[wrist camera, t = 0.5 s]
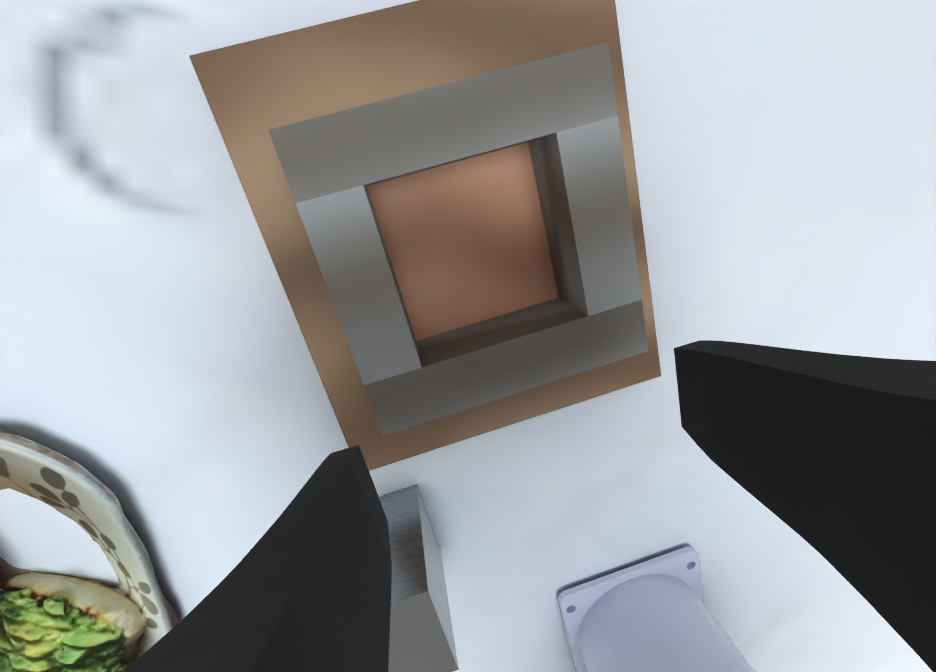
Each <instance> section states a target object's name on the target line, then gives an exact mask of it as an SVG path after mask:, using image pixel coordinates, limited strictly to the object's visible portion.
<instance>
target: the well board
mask: <svg viewBox="0 0 936 672" xmlns="http://www.w3.org/2000/svg"><path fill="white" fill-rule="evenodd" d="M189 57H190V59H191V62H192V64H193V66H194V69H195V71H196V74H197V76H198V79H199V81H200V84H201V86H202V89H203V91H204V93H205V96H206V98H207V101H208V103H209V106H210V108H211V111H212V113H213V116H214V118H215V120H216V123H217V125H218V128H219V130H220V133H221V135H222V138H223V140H224V143H225V145H226V147H227V150H228V152H229V155H230V157H231V160H232V162H233V165H234V167H235V169H236V172H237V174H238V177H239V179H240V182H241V184H242V187H243V189H244V192H245V194H246V196H247V199H248V201H249V204H250V206H251V209H252V211H253V214H254V216H255V219H256V221H257V223H258V226H259V228H260V231H261V233H262V236H263V238H264V241H265V243H266V246H267V248H268V250H269V253H270V255H271V258H272V260H273V263H274V265H275V268H276V270H277V272H278V275H279V277H280V280H281V282H282V285H283V287H284V290H285V292H286V295H287V297H288V299H289V302H290V304H291V307H292V309H293V312H294V314H295V317H296V319H297V322H298V324H299V326H300V329H301V331H302V334H303V336H304V339H305V341H306V344H307V346H308V349H309V351H310V353H311V356H312V358H313V361H314V363H315V366H316V368H317V371H318V373H319V375H320V378H321V380H322V383H323V385H324V388H325V390H326V393H327V395H328V398H329V400H330V402H331V405H332V407H333V410H334V412H335V415H336V417H337V420H338V422H339V425H340V427H341V429H342V432H343V434H344V437H345V439H346V442H347V444H348V447H349V448H350V447H354V446H357V445H359V447H360V449H361V452H362V455H363V457H364V460H365V463H366V465H367V468H368V470H373V469H376V468H379V467H382V466H385V465H388V464H391V463H394V462H397V461H400V460H403V459H406V458H409V457H413V456H416V455H419V454H422V453H425V452H428V451H431V450H434V449H437V448H440V447H443V446H446V445H449V444H453V443H456V442H459V441H462V440H465V439H468V438H471V437H474V436H477V435H480V434H483V433H486V432H489V431H493V430H496V429H499V428H502V427H505V426H508V425H511V424H514V423H517V422H520V421H523V420H526V419H529V418H533V417H536V416H539V415H542V414H545V413H548V412H551V411H554V410H557V409H560V408H563V407H566V406H569V405H573V404H576V403H579V402H582V401H585V400H588V399H591V398H594V397H597V396H600V395H603V394H606V393H609V392H613V391H616V390H619V389H622V388H625V387H628V386H631V385H634V384H637V383H640V382H643V381H646V380H650V379H653V378H656V377H659V376H661V371H660V363H659V355H658V347H657V339H656V331H655V322H654V314H653V306H652V298H651V290H650V282H649V274H648V266H647V257H646V249H645V241H644V233H643V225H642V217H641V209H640V200H639V192H638V184H637V176H636V168H635V160H634V152H633V144H632V135H631V127H630V119H629V111H628V103H627V95H626V87H625V78H624V70H623V62H622V54H621V46H620V38H619V30H618V22H617V13H616V5H615V0H418V1H414V2H410V3H406V4H402V5H398V6H394V7H389V8H385V9H381V10H377V11H373V12H369V13H365V14H360V15H356V16H352V17H348V18H344V19H340V20H336V21H331V22H327V23H323V24H319V25H315V26H311V27H307V28H302V29H298V30H294V31H290V32H286V33H282V34H278V35H273V36H269V37H265V38H261V39H257V40H253V41H249V42H244V43H240V44H236V45H232V46H228V47H224V48H220V49H215V50H211V51H207V52H203V53H199V54H195V55H191V56H189Z"/></svg>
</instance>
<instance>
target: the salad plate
mask: <svg viewBox="0 0 936 672" xmlns="http://www.w3.org/2000/svg"><path fill="white" fill-rule="evenodd" d="M7 488H10V489H13V490H16V491H18V492H21V493H23V494H26V495H29V496H31V497H34V498H36V499H38V500H40V501H42V502H44V503H46V504H48V505H50V506H52V507H53V508H55V509H56V510H57V511H59V512H60V513H62V514H64V515H65V516H67V517H69V518H70V519H72V520H74V521H75V522H76V523H77V524H79V525H80V526H81V527H82V528H83V529H84V530H85V531H86V532H87V533H88V534H89V535H90V536H91V537H92V539H93V540H94V541H96V542H97V543H98V544H99V545H100V547H101V548H102V550H103V552H104V553H105V555H106V557H107V559H108V561H109V562H110V563H111V565H112V567H113V569H114V571H115V573H116V575H117V577H118V579H119V582H120V584H119V585H118V586H115V587H110V586H107V585H104V584H102V583H100V582H99V581H96V580H90V579H79V578H76V577H72V576H65V575H55V574H42V573H39V572H34V571H30V570H25V569H19V568H15V567H13V566H11V565H9V564H8V563H7V562H6V561H5V560H3V559H1V558H0V672H123V671H125V670H126V669H127V668H128V667H129V666H130V665H131V664H133V663H134V662H135V661H136V660H137V659H138V658H139V657H141V656H142V655H143V654H144V653H145V652H146V651H147V650H148V649H150V648H151V647H152V646H153V645H154V644H155V643H156V642H158V641H159V640H160V639H161V638H162V637H163V636H164V635H166V634H167V633H168V632H169V631H170V630H171V629H172V628H174V627H175V626H176V625H177V624H178V623H179V620H178V617H177V614H176V612H175V610H174V608H173V607H172V605H171V604H170V603H169V601H168V600H167V599H166V598H165V597H164V595H163V593H162V591H161V589H160V586H159V584H158V581H157V579H156V576H155V573H154V568H153V566H152V564H151V561H150V558H149V554H148V552H147V550H146V548H145V546H144V544H143V542H142V541H141V539H140V538H139V536H138V535H137V533H136V532H135V530H134V529H133V527H132V526H131V524H130V523H129V521H128V520H127V518H126V517H125V515H124V513H123V511H122V508H121V505H120V502H119V500H118V499H117V497H116V496H115V494H114V493H113V492H112V491H111V490H110V489H109V488H108V487H106V486H105V485H104V484H103V483H102V482H100V481H99V480H98V479H97V478H96V477H95V476H93V475H92V474H91V473H90V472H89V471H88V470H87V469H85V468H84V467H83V466H82V465H80V464H78V463H77V462H75V461H73V460H71V459H70V458H68V457H66V456H64V455H62V454H60V453H58V452H56V451H54V450H52V449H50V448H47V447H45V446H43V445H41V444H38V443H36V442H34V441H32V440H29V439H27V438H24V437H22V436H19V435H15V434H11V433H6V432H0V490H1V489H7Z"/></svg>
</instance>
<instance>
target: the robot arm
mask: <svg viewBox="0 0 936 672" xmlns="http://www.w3.org/2000/svg"><path fill="white" fill-rule="evenodd" d="M674 354H675V364H676V373H677V383H678V393H679V403H680V413H681V423H682V427H683V429H684V430H685V431H686V432H687V433H688V434H689V436H690V437H691V438H692V439H693V440H694V441H695V443H696V444H697V445H698V446H699V447H700V448H701V449H702V450H703V451H704V452H705V453H706V455H707V456H708V457H709V458H710V459H711V460H712V461H713V462H714V463H715V464H717V465H718V466H719V467H720V468H721V469H722V470H723V471H725V472H726V473H727V474H728V475H729V476H730V477H732V478H733V479H734V480H735V481H736V482H737V483H739V484H740V485H741V486H742V487H743V488H744V489H746V490H747V491H748V492H749V493H750V494H752V495H753V496H754V497H755V498H756V499H757V500H759V501H760V502H761V503H762V504H763V505H765V506H766V507H767V508H768V509H769V510H771V511H772V512H773V513H774V514H775V515H776V516H778V517H779V518H780V519H781V520H782V521H784V522H785V523H786V524H787V525H788V526H790V527H791V528H792V529H793V530H794V531H795V532H797V533H798V534H799V535H800V536H801V537H803V538H804V539H805V540H806V541H807V542H808V543H809V544H810V545H811V546H812V547H814V548H815V549H816V550H817V551H818V552H819V553H820V554H821V555H822V556H823V557H824V558H825V559H826V560H827V561H828V562H829V563H830V564H831V565H832V566H833V567H834V568H835V569H836V570H837V571H838V572H839V573H840V574H841V575H842V576H843V577H844V578H845V579H846V580H847V581H848V582H849V583H850V584H851V585H852V586H853V587H854V588H855V589H856V590H857V591H858V592H859V593H860V594H861V595H862V596H863V597H864V598H865V599H866V600H867V601H868V602H869V603H870V604H871V605H872V606H873V607H874V608H875V610H876V611H877V612H878V613H879V614H880V615H881V616H882V617H883V618H884V619H885V620H886V621H887V622H888V623H889V624H890V626H891V627H892V628H893V629H894V630H895V631H896V632H897V633H898V634H899V635H900V636H901V637H902V638H903V639H904V640H905V641H906V643H907V644H908V645H909V646H910V647H911V648H912V649H913V650H914V651H915V652H916V653H917V654H918V655H919V656H920V658H921V659H922V660H923V661H924V662H925V663H926V664H927V665H928V667H929V668H930V669H931V670H932V671H933V672H936V361H920V360H900V359H884V358H872V357H861V356H850V355H839V354H829V353H820V352H811V351H802V350H794V349H786V348H778V347H770V346H762V345H753V344H745V343H736V342H725V341H696V342H693V343H690V344H686V345H683V346H680V347H677V348H674ZM391 583H392V561H391V549H390V538H389V528H388V521H387V518H386V515H385V513H384V510H383V507H382V505H381V502H380V500H379V497H378V494H377V492H376V489H375V486H374V484H373V481H372V478H371V476H370V473H369V470H368V468H367V465H366V463H365V460H364V457H363V455H362V452H361V449H360V447H359V445H357V446H354V447H350V448H347V449H344V450H341V451H337V452H334V453H331V454H330V455H329V456H328V457H327V458H326V459H325V460H324V461H323V462H322V464H321V465H320V466H319V467H318V469H317V470H316V471H315V472H314V474H313V475H312V476H311V478H310V479H309V480H308V481H307V483H306V484H305V485H304V487H303V488H302V489H301V490H300V492H299V493H298V494H297V495H296V497H295V498H294V499H293V501H292V502H291V503H290V504H289V506H288V507H287V508H286V509H285V511H284V512H283V513H282V514H281V516H280V517H279V518H278V519H277V520H276V522H275V523H274V524H273V525H272V526H271V527H270V528H269V530H268V531H267V532H266V533H265V534H264V535H263V537H262V538H261V539H260V540H259V541H258V542H257V543H256V545H255V546H254V547H253V548H252V549H251V550H250V552H249V553H248V554H247V555H246V556H245V557H244V558H243V560H242V561H241V562H240V563H239V564H238V565H237V566H236V567H235V568H234V569H233V570H232V571H231V572H230V573H229V574H228V575H227V576H226V578H225V579H224V580H223V581H222V582H221V583H220V584H219V585H218V586H217V587H216V588H215V589H214V590H213V591H212V592H211V593H210V594H209V595H208V596H206V597H205V598H204V599H203V600H202V601H201V602H200V603H199V604H198V605H197V606H196V607H195V608H194V609H193V610H192V611H191V612H190V613H189V614H188V615H187V616H186V617H185V618H184V619H183V620H182V621H180V622H179V623H178V624H177V625H176V626H175V627H174V628H172V629H171V630H170V631H169V632H168V633H167V634H166V635H164V636H163V637H162V638H161V639H160V640H159V641H158V642H156V643H155V644H154V645H153V646H152V647H151V648H150V649H148V650H147V651H146V652H145V653H144V654H143V655H142V656H141V657H139V658H138V659H137V660H136V661H135V662H134V663H133V664H131V665H130V666H129V667H128V668H127V669H126V670H125V671H123V672H388V666H389V639H390V613H391ZM558 601H559V605H560V609H561V613H562V617H563V621H564V625H565V629H566V632H567V636H568V640H569V644H570V648H571V652H572V656H573V660H574V664H575V667H576V671H577V672H755V671H754V669H753V668H752V667H751V666H750V664H749V663H748V662H747V660H746V659H745V658H744V656H743V655H742V654H741V653H740V651H739V650H738V649H737V647H736V646H735V645H734V643H733V642H732V641H731V640H730V638H729V637H728V636H727V634H726V633H725V632H724V630H723V629H722V628H721V627H720V625H719V624H718V623H717V621H716V620H715V619H714V617H713V616H712V615H711V614H710V612H709V611H708V610H707V608H706V607H705V606H704V603H703V594H702V585H701V575H700V566H699V557H698V553H697V551H696V550H695V549H694V548H693V547H690V546H687V547H684V548H681V549H678V550H675V551H672V552H670V553H667V554H664V555H661V556H658V557H656V558H653V559H650V560H647V561H645V562H642V563H639V564H636V565H633V566H631V567H628V568H625V569H622V570H620V571H617V572H614V573H611V574H608V575H606V576H603V577H600V578H597V579H595V580H592V581H589V582H586V583H583V584H581V585H578V586H575V587H572V588H569V589H567V590H564V591H562V592H561V593H560V594H559V597H558Z"/></svg>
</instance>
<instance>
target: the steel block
mask: <svg viewBox="0 0 936 672" xmlns="http://www.w3.org/2000/svg"><path fill="white" fill-rule="evenodd" d="M379 500H380V502H381V505H382V507H383V510H384V513H385V515H386V518H387V521H388V528H389V538H390V549H391V561H392V583H391V613H390V639H389V666H388V672H453V671H455V670H458V663H457V656H456V650H455V643H454V636H453V630H452V623H451V617H450V610H449V604H448V597H447V591H446V584H445V578H444V571H443V564H442V558H441V551H440V547H439V545H438V542H437V539H436V536H435V533H434V531H433V528H432V525H431V522H430V520H429V517H428V514H427V511H426V508H425V506H424V503H423V500H422V497H421V495H420V492H419V489H418V486H417V484H416V485H413V486H410V487H407V488H404V489H401V490H398V491H395V492H392V493H389V494H386V495H383V496H380V497H379Z"/></svg>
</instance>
